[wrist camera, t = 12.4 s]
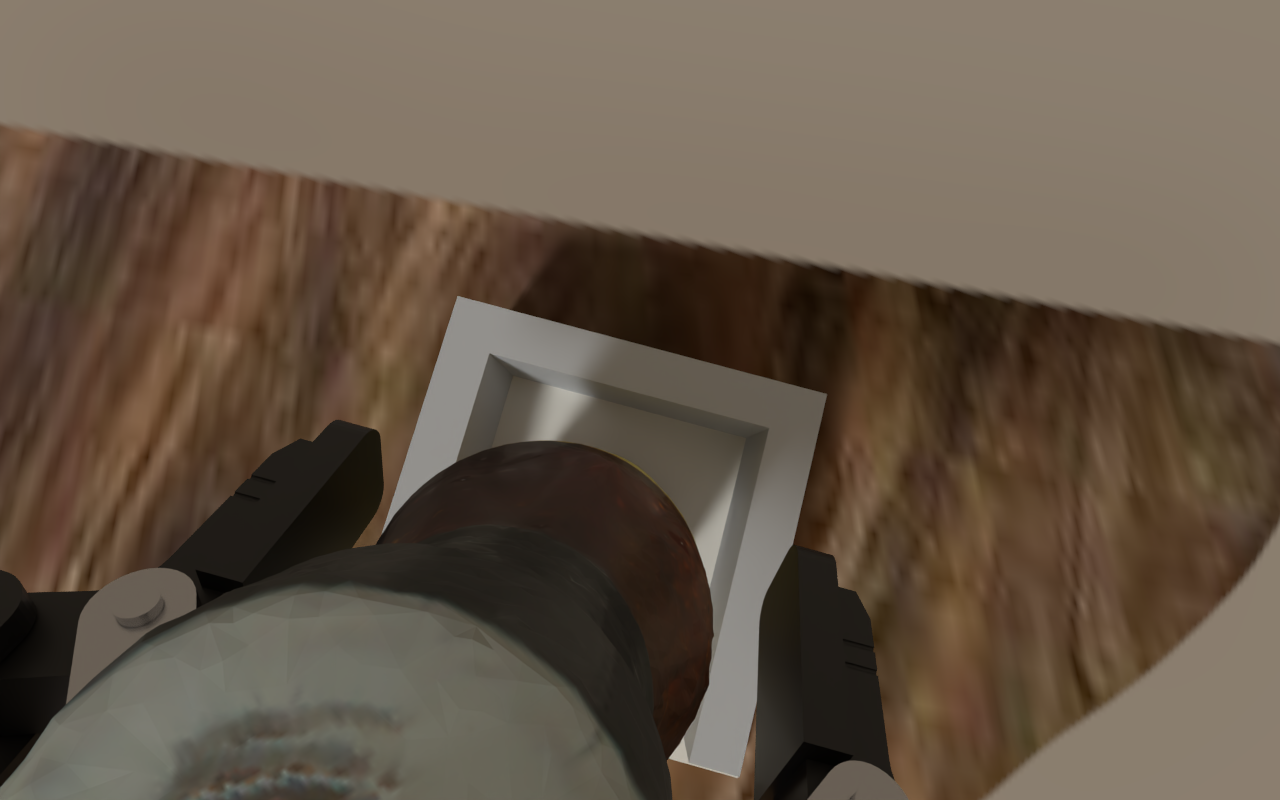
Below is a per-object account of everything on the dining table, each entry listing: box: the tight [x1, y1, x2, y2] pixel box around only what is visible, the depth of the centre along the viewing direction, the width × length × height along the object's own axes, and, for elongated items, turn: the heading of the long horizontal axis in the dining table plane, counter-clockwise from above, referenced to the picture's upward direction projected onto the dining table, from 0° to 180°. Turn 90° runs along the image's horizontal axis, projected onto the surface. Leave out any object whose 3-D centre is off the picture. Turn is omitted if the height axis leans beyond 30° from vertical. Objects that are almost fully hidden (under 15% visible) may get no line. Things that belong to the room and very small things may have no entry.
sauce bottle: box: [0, 440, 714, 800], centre depth 13 cm, size 7×6×20 cm
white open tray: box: [382, 296, 827, 778], centre depth 22 cm, size 14×13×5 cm
